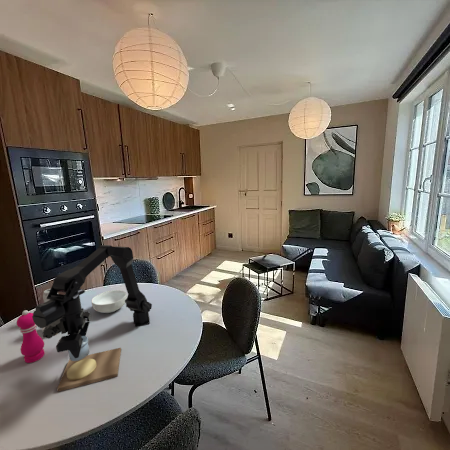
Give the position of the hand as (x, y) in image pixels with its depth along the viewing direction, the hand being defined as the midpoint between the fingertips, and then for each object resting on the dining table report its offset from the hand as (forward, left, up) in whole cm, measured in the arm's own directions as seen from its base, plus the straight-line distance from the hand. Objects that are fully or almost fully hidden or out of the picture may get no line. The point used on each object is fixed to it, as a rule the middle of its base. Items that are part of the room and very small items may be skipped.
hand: (79, 351), depth 86 cm
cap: (0, 0, -1) cm, 1 cm away
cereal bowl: (-4, -45, -9) cm, 46 cm away
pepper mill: (+20, -16, -9) cm, 27 cm away
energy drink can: (+22, -46, -9) cm, 52 cm away
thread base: (-3, -1, -9) cm, 9 cm away
